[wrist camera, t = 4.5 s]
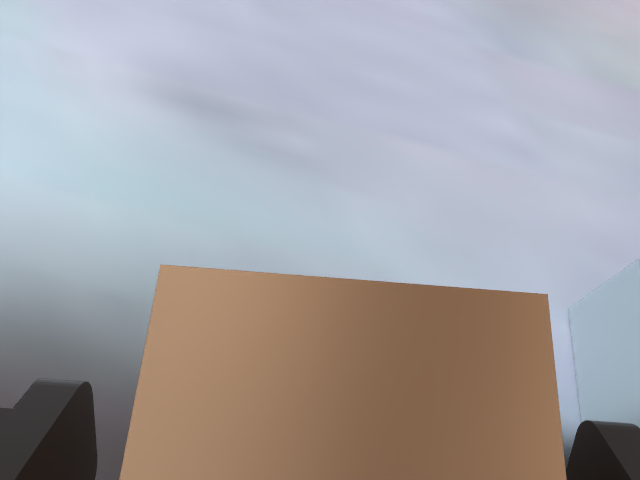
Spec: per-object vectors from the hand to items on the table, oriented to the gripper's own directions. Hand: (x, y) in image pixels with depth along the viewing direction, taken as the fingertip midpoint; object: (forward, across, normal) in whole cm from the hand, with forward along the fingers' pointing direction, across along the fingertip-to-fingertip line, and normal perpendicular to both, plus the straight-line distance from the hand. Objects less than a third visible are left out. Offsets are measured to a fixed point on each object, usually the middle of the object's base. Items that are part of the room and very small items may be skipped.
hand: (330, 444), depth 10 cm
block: (+3, 0, +4) cm, 5 cm away
